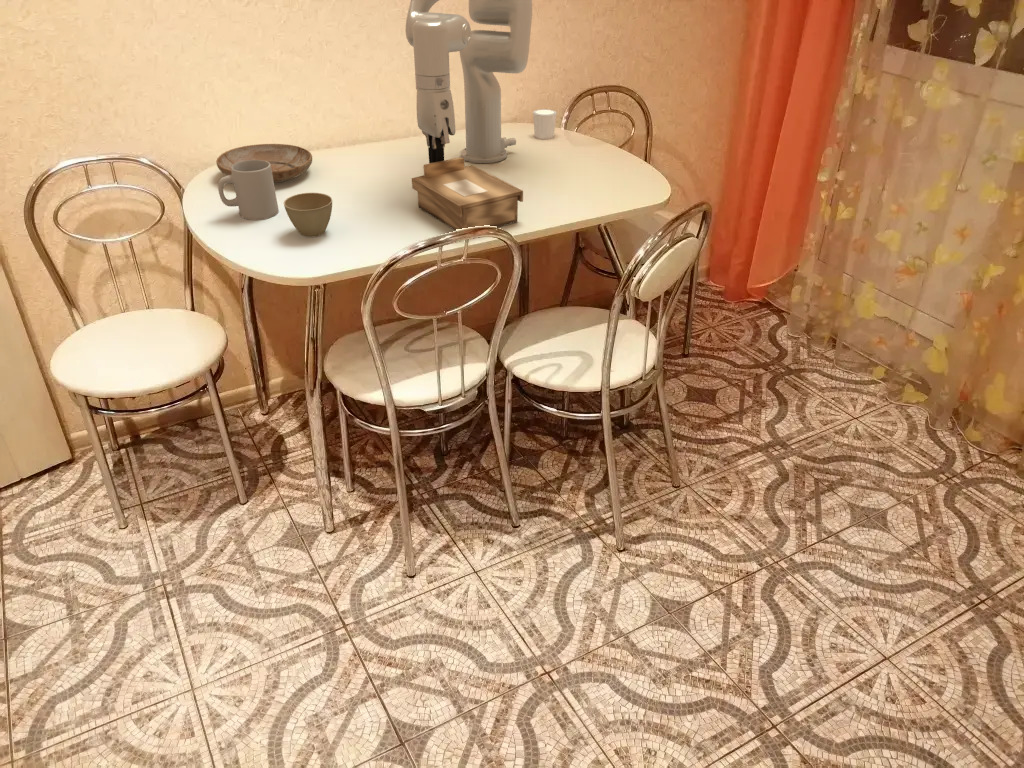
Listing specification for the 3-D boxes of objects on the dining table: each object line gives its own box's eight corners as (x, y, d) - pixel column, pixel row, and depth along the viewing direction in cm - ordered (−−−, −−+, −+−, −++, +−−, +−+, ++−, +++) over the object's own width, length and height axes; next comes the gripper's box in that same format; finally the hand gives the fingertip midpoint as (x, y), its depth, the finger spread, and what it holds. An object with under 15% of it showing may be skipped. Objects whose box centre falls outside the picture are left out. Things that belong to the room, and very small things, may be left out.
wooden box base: (469, 195, 186) (469, 170, 182) (517, 222, 172) (517, 196, 169) (418, 207, 179) (416, 182, 176) (464, 236, 165) (463, 209, 162)
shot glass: (530, 139, 224) (531, 114, 220) (534, 132, 229) (534, 108, 226) (554, 140, 223) (555, 115, 219) (557, 133, 229) (558, 109, 225)
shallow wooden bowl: (235, 198, 184) (230, 178, 181) (209, 170, 200) (205, 151, 197) (327, 181, 194) (325, 161, 191) (296, 156, 210) (293, 137, 208)
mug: (273, 203, 181) (265, 157, 174) (282, 216, 174) (274, 168, 168) (221, 212, 176) (210, 165, 170) (228, 225, 170) (217, 176, 163)
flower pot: (279, 237, 164) (273, 205, 160) (307, 220, 172) (302, 189, 168) (318, 245, 161) (313, 212, 157) (345, 228, 169) (341, 196, 165)
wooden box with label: (472, 175, 184) (471, 154, 181) (522, 201, 170) (523, 179, 167) (412, 188, 176) (410, 166, 173) (459, 217, 162) (459, 194, 159)
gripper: (465, 86, 166) (467, 170, 176) (430, 73, 176) (435, 153, 186) (434, 90, 162) (438, 176, 173) (401, 77, 173) (407, 158, 183)
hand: (436, 164), depth 179 cm, fingers closed
